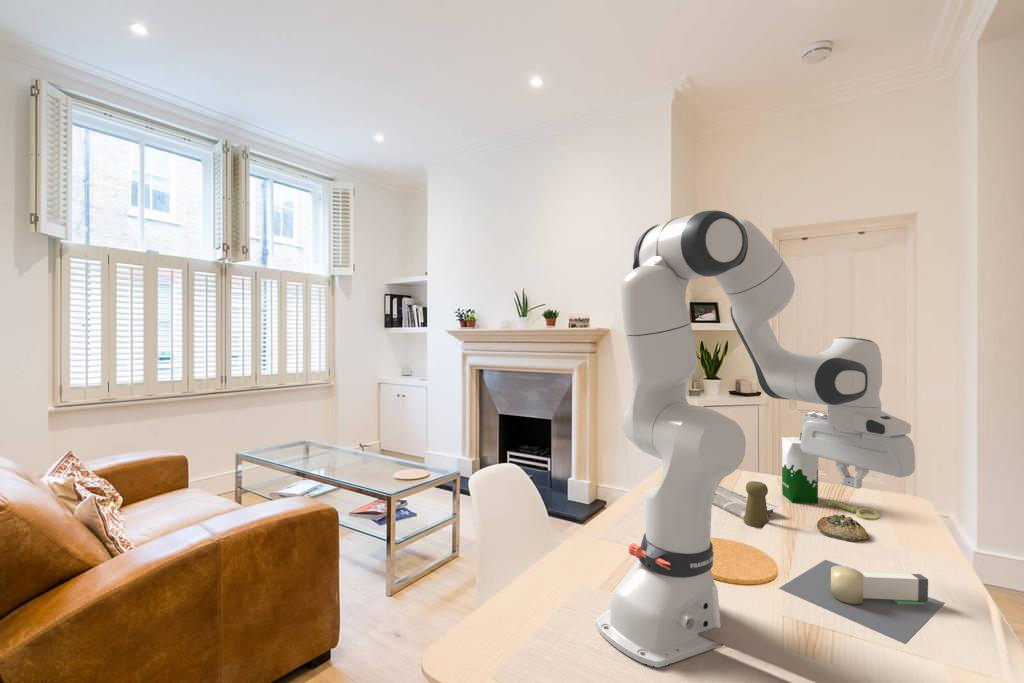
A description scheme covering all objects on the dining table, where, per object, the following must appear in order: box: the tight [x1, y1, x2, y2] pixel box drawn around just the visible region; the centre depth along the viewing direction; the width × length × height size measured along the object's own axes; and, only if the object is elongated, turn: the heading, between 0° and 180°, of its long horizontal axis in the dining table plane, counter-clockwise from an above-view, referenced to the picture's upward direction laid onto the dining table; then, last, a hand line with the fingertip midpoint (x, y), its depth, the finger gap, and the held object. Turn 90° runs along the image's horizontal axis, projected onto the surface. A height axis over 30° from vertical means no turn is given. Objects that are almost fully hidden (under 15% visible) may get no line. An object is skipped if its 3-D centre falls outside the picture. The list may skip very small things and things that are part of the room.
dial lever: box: [831, 565, 929, 604], centre depth 90 cm, size 16×5×5 cm, turn 85°
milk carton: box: [781, 431, 820, 505], centre depth 146 cm, size 9×9×20 cm
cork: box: [743, 480, 770, 529], centre depth 128 cm, size 6×6×11 cm
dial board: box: [778, 559, 946, 645], centre depth 92 cm, size 20×20×2 cm
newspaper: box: [712, 483, 780, 521], centre depth 148 cm, size 35×12×4 cm, turn 19°
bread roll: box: [816, 514, 870, 542], centre depth 123 cm, size 11×11×5 cm
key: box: [825, 499, 880, 521], centre depth 136 cm, size 7×12×2 cm, turn 54°
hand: (851, 486), depth 98 cm, fingers closed
